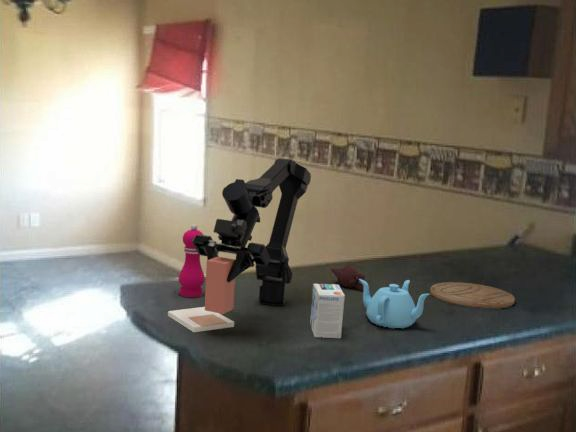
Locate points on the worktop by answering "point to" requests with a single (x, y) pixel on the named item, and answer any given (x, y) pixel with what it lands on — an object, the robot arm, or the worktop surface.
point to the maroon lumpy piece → (349, 277)
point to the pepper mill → (191, 267)
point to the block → (219, 285)
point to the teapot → (392, 306)
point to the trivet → (472, 295)
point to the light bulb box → (327, 310)
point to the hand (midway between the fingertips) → (217, 279)
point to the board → (200, 319)
